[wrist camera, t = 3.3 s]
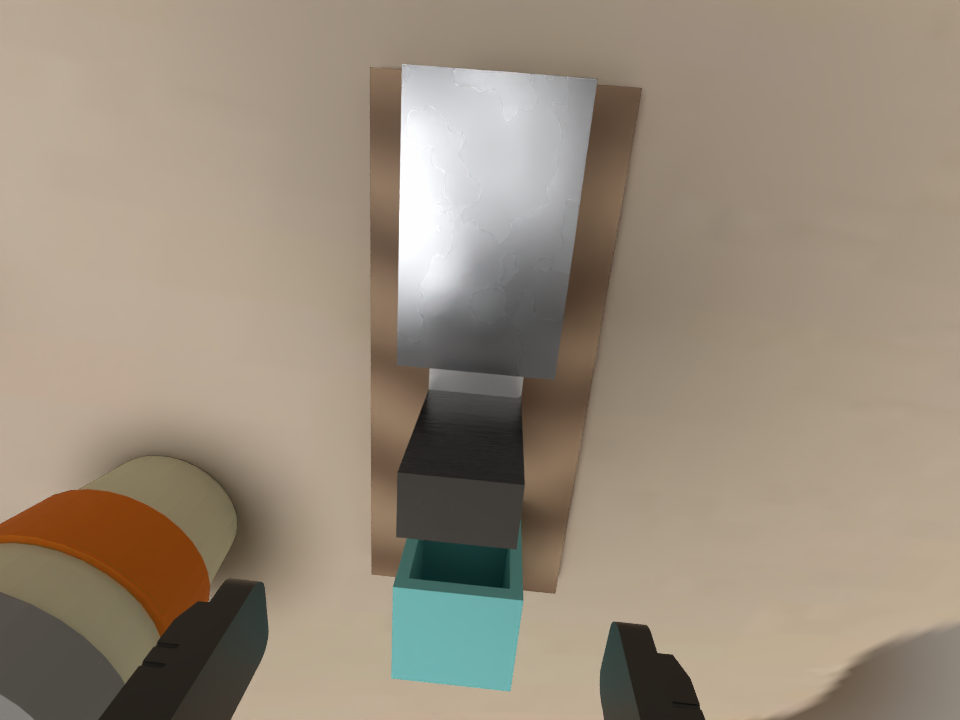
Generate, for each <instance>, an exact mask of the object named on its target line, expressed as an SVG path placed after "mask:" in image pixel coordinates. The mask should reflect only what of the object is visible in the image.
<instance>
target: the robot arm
mask: <svg viewBox="0 0 960 720" xmlns="http://www.w3.org/2000/svg"><path fill="white" fill-rule="evenodd" d="M267 640H268V619H267V608H266V597H265V587H264V584H263V583H262V582H258V581H248V580H239V579H227V580H226V581H225V582H224V583H223V584H222V585H221V587H220V588H219V590H218V591H217V592H216V594H215V595H214V597H213V598H212V599H211V601H210V602H201V601H197V602H196V603H195V604H193V605H192V606H191V607H190V608H188V609H187V610H186V611H184V612H183V613H182V614H181V615H179V616H178V617H177V618H175V619H174V620H173V622H172V623H171V624H170V626H169V627H168V628H167V630H166V631H165V632H164V633H163V635H162V636H161V637H160V639H159V640H158V641H157V645H156V646H155V647H153V648H152V649H151V651H150V652H149V653H148V655H147V656H146V657H145V658H144V660H143V663H142V665H141V666H138V668H137V669H136V670H135V672H134V673H133V674H132V676H131V677H130V678H129V680H128V681H127V682H126V684H125V685H124V686H123V687H122V689H121V690H120V691H119V693H118V694H117V695H116V697H115V698H114V699H113V701H112V702H111V703H110V705H109V706H108V707H107V709H106V710H105V711H104V713H103V714H102V715H101V716H100V718H99V719H98V720H231V718H232V716H233V714H234V712H235V710H236V708H237V706H238V704H239V703H240V701H241V699H242V697H243V695H244V693H245V691H246V689H247V687H248V685H249V683H250V681H251V679H252V677H253V675H254V673H255V671H256V669H257V668H258V666H259V664H260V662H261V660H262V657H263V655H264V652H265V648H266V645H267ZM600 696H601V703H602V709H603V715H604V720H705V718H704V715H703V712H702V710H700V704H699V701H698V698H697V696H696V693H695V690H694V687H693V685H692V682H691V679H690V677H689V676H688V675H687V673H686V672H685V671H684V669H683V668H682V667H681V665H680V664H679V663H678V661H677V660H676V659H675V657H674V656H673V655H670V654H661V653H657V651H656V647H655V644H654V641H653V638H652V634H651V632H650V629H649V628H648V626H647V625H641V624H632V623H623V622H612V624H611V627H610V631H609V635H608V640H607V644H606V648H605V653H604V657H603V661H602V666H601V671H600Z"/></svg>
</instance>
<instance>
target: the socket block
mask: <svg viewBox="0 0 960 720" xmlns="http://www.w3.org/2000/svg"><path fill="white" fill-rule="evenodd" d="M522 606H523V573H522V539H521V520H520V527H519V535H518V543H517V550H516V549H506V548H496V547H486V546H477V545H467V544H457V543H447V542H438V541H428V540H418V539H408V538H407V539H406V543H405V547H404V550H403V554H402V557H401V561H400V564H399V568H398V571H397V575H396V578H395V582H394V585H393V618H392V676H391V678H393V679H402V680H411V681H420V682H429V683H438V684H447V685H456V686H465V687H475V688H484V689H493V690H502V691H511V684H512V677H513V670H514V663H515V656H516V648H517V641H518V634H519V627H520V620H521V613H522Z"/></svg>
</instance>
